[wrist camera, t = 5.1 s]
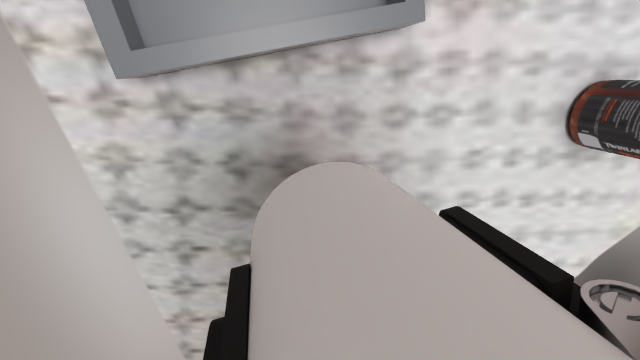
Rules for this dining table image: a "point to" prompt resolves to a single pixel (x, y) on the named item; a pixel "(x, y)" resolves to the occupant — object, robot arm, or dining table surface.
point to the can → (391, 282)
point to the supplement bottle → (609, 118)
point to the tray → (232, 28)
